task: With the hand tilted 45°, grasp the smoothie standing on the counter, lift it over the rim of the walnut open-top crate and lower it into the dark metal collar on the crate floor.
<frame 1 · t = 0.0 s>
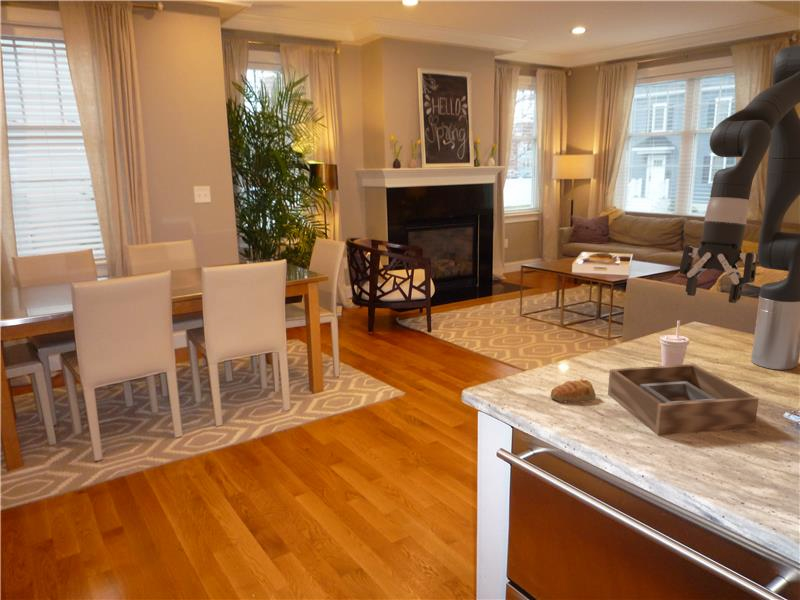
hand: (711, 298, 121), 22 cm above the kitchen island, tool pointing down, fingers open, 8 cm apart
smoothie: (670, 377, 139), on the kitchen island
pastry: (573, 399, 128), on the kitchen island
crate: (676, 410, 121), on the kitchen island
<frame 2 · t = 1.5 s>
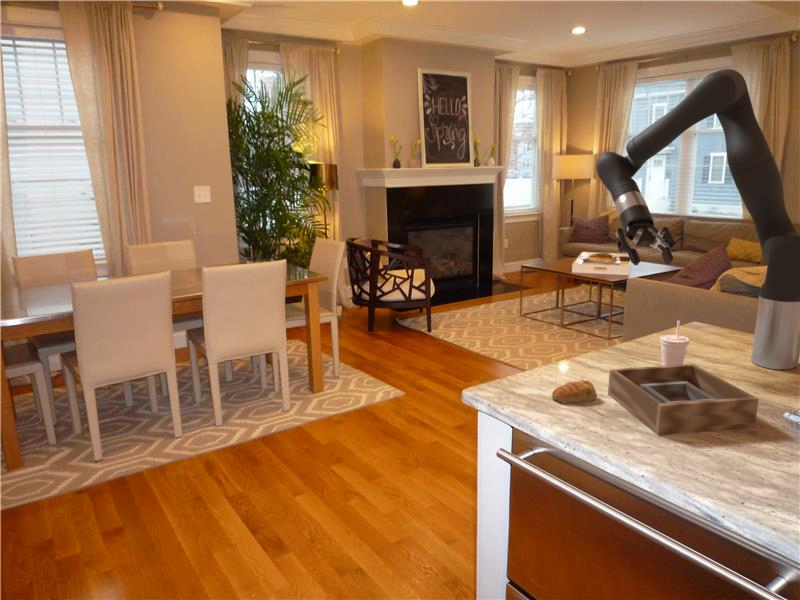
hand: (653, 263, 145), 26 cm above the kitchen island, tool tilted 45°, fingers open, 8 cm apart
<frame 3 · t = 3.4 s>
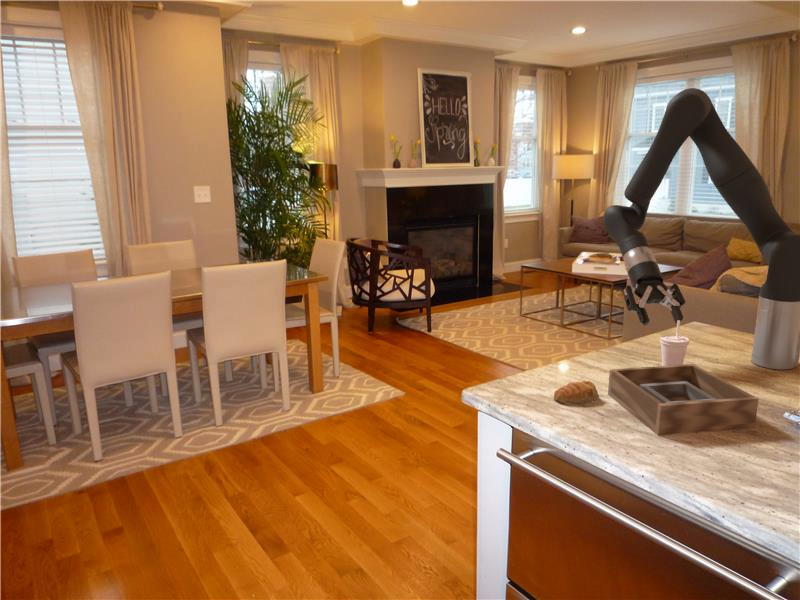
hand: (663, 322, 142), 12 cm above the kitchen island, tool tilted 45°, fingers open, 8 cm apart
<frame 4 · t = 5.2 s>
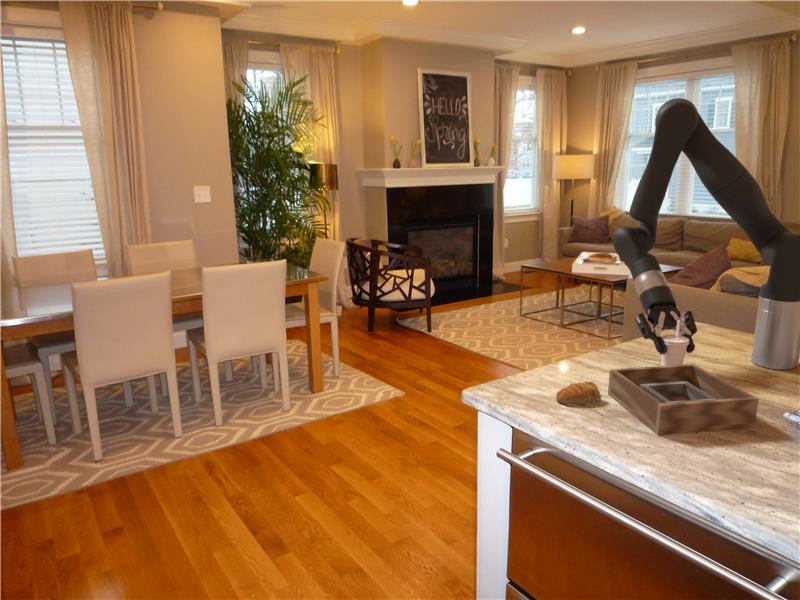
hand: (677, 352, 136), 7 cm above the kitchen island, tool tilted 45°, fingers closed on smoothie, 6 cm apart
smoothie: (670, 377, 139), on the kitchen island, touching gripper
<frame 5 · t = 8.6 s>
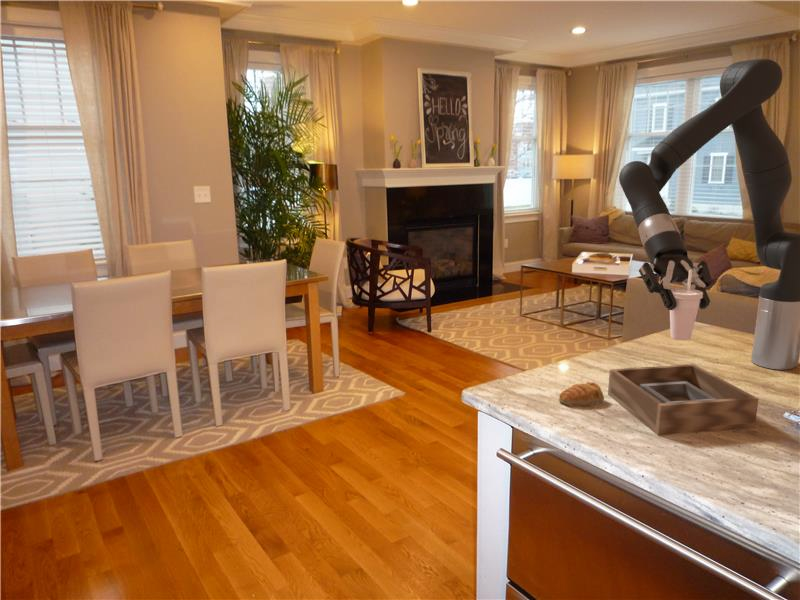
hand: (689, 307, 115), 22 cm above the kitchen island, tool tilted 45°, fingers closed on smoothie, 6 cm apart
smoothie: (680, 338, 118), point 15 cm above the kitchen island, touching gripper
when the fingers open (9 cm above the kitchen island, at t = 11.8 s): smoothie drops 1 cm, resting on crate.
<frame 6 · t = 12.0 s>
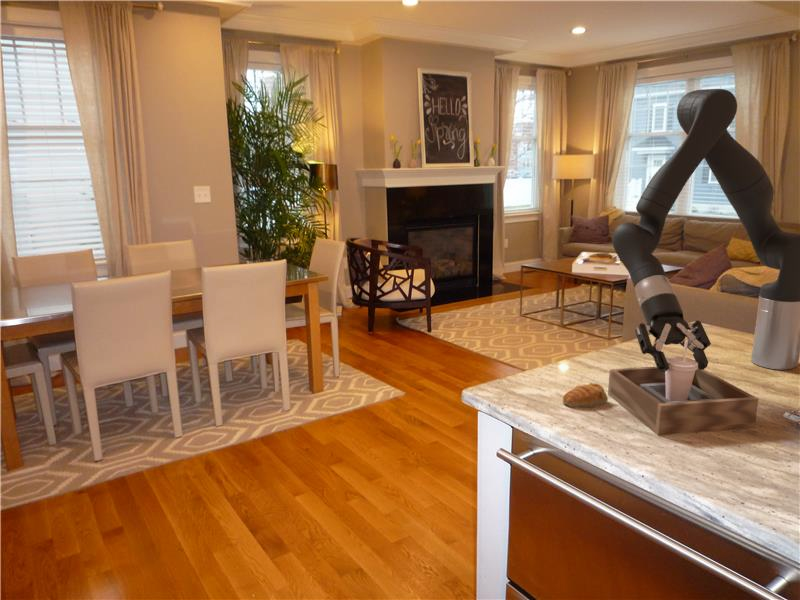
hand: (684, 369, 117), 10 cm above the kitchen island, tool tilted 45°, fingers open, 8 cm apart
smoothie: (675, 405, 121), point 1 cm above the kitchen island, touching crate
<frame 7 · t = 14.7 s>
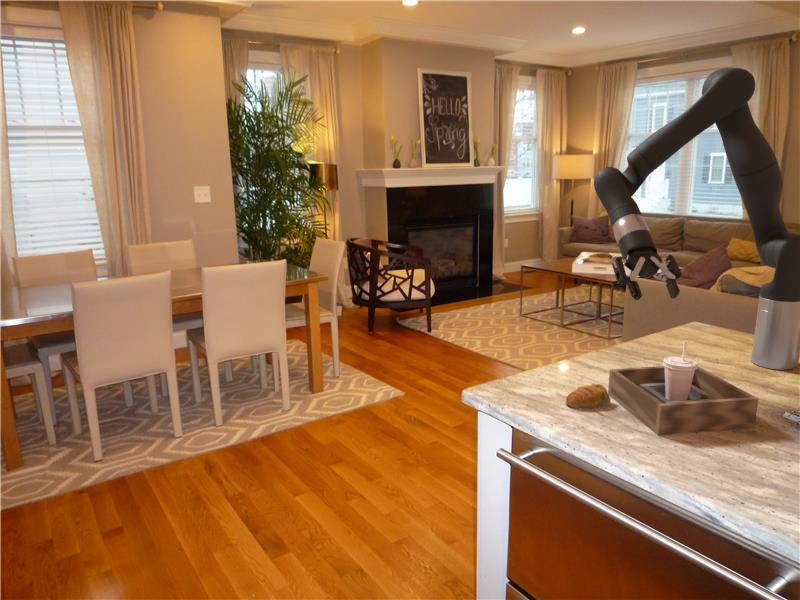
hand: (657, 297, 126), 22 cm above the kitchen island, tool tilted 45°, fingers open, 8 cm apart
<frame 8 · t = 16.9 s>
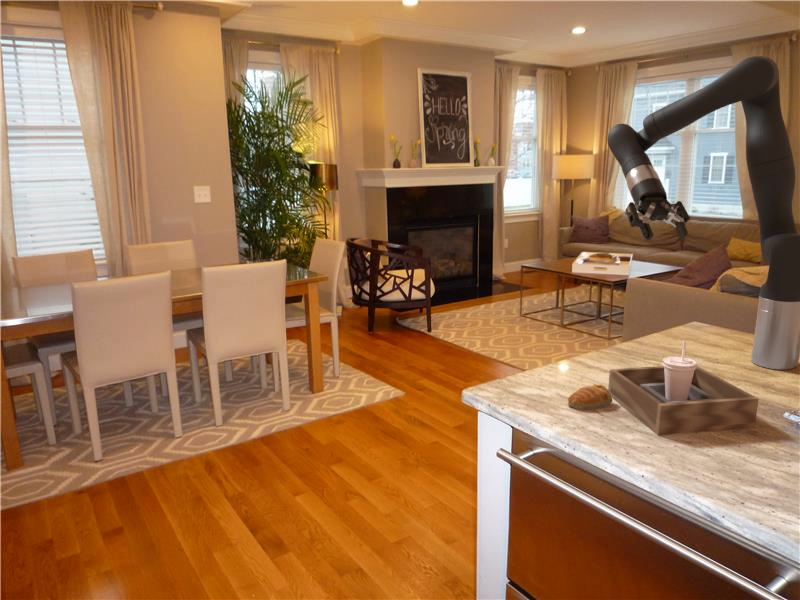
hand: (667, 237, 138), 33 cm above the kitchen island, tool tilted 45°, fingers open, 8 cm apart
at the end: smoothie 0.3 cm off-centre on the crate, point 0.8 cm above the crate's base; smoothie tilted 0°; the gripper is holding nothing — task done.
